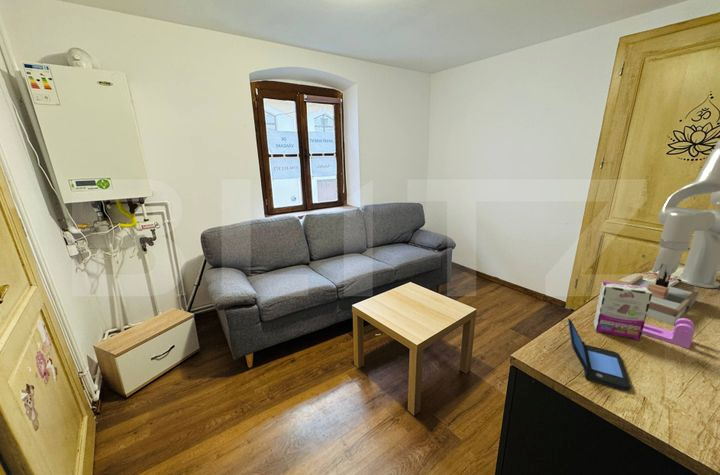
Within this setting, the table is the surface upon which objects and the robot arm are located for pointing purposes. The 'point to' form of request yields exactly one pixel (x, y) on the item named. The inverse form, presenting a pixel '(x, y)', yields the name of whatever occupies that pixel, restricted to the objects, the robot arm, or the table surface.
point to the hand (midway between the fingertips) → (660, 289)
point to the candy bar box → (622, 309)
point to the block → (658, 291)
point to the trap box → (668, 302)
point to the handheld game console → (599, 362)
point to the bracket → (673, 333)
